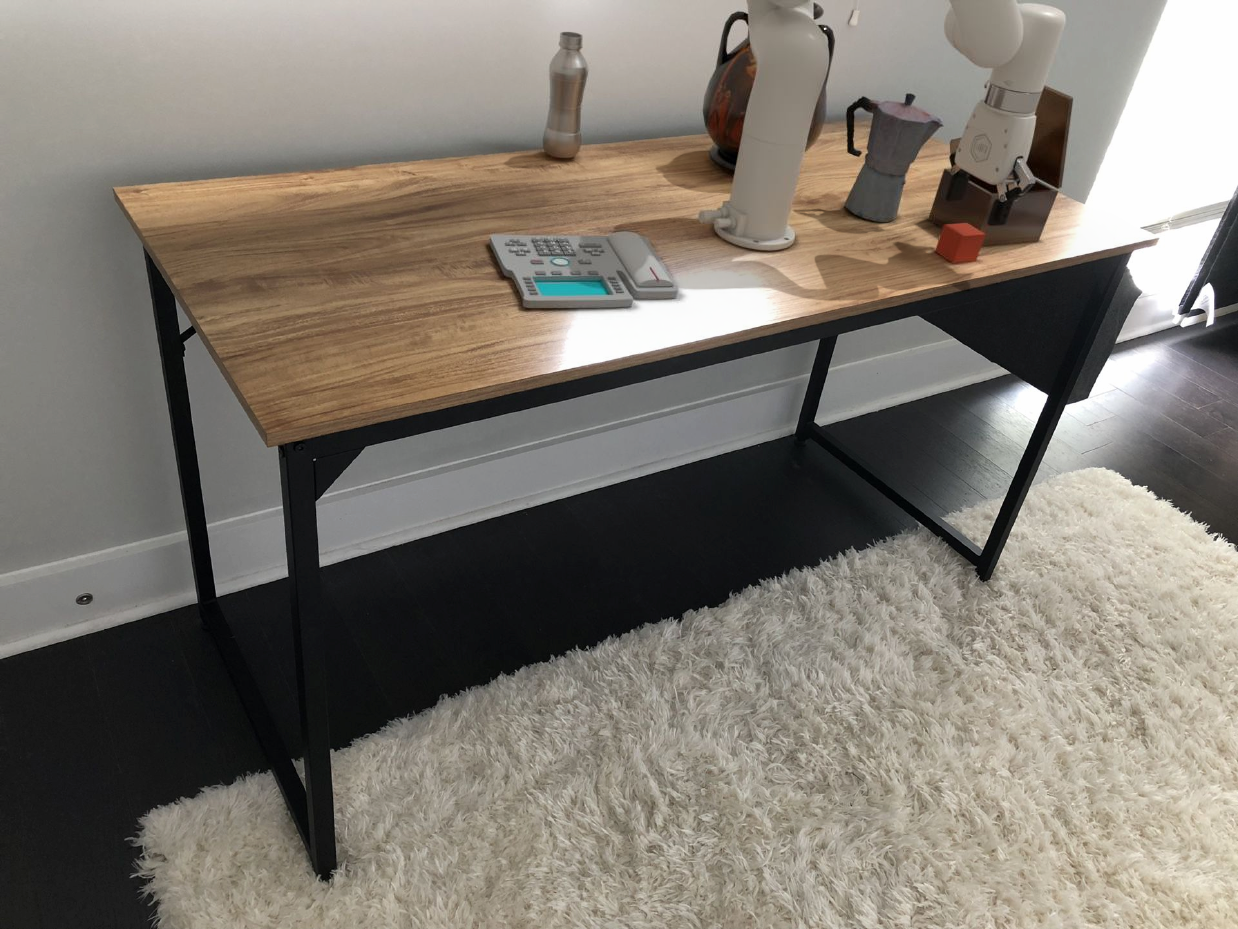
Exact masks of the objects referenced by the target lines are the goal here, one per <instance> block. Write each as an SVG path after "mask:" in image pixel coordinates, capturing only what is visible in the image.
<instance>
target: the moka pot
mask: <svg viewBox="0 0 1238 929" xmlns="http://www.w3.org/2000/svg"><path fill="white" fill-rule="evenodd" d="M915 99H916V95H915V94H913V93H906V94H905V99H904V102H902V101H893V100H885V101H880V100H876V99H870V98H868V97H866V96H864V95H863V96H861V97H860V98H858V99H857V100H856V101H853V102H852V104H850V105H849V106H848V107H847V108H846V112H845V121H846V153H847V154H849V155H851V156H854V157H857V158H860V157H861V155H862V154H863V152H862V151H861V150H858V149H856V148H855V141H854V138H855V137H854V136H855V112H856V111H857V110H858V109H862V110H864V111H865V112H867V113H870V114H872V119H871V124H870V128H869V135H868V139H867V144H866V150H867V153H866V154H865V155H864V163H863V165H862V166H861V167H860V170H859V171H858V172H859V173H858V174H857V177H856V180H855V181H854V182H853V185H852V186H851V189H850V191H849V193H848V196H847V197H846V200H845V202H844V206H845V208H846V209H847V210H848V211H850V212H851V213H852V214H854V215H856V216H858V217H859V218H862V219H865V220H870V221H873V222H878V223H890V222H892V221H894V220H895V219H896V218H897V216H898V213H899V209H900V204H901V199H902V197H903V196H902V195H903V192H904V186H905V185H906V184H907V180H906V178H907V175H906V174H908V171H909V169H910V166H911V165H912V164H913V163H914V162H915V160H916V159H917V157H918V155H919V153H920V151H921V149H922V147H923V146H924V145H925V144H926V143H927V142H928V141H929V140H930V139H931V137H932V136H934V134H935V133H936V132H937V131H938V130H939V129H940V128H942V127H945V125H944V123H943V121H942V120H941V119H940V118H939V117H938V116H935V115H934V114H931V113H930V112H929V111H928V110H926V109H924V108H922V107H918V106H916V105H915V104H914V105H913V103H914V101H915Z"/></svg>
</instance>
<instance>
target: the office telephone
mask: <svg viewBox="0 0 1238 929" xmlns="http://www.w3.org/2000/svg"><path fill="white" fill-rule="evenodd" d="M489 245H490V248H491V251H492V252H493V254H494V256H495V259H496V261H497V263H498V265H499V267H500V270H501V271H502V273H503V275H504V276H505V277H507V278H510V279H512V281H513V282H514V284H515V286H516V288H517V290H518V293H519V295H520V298H521V299H522V307H524V308H527V309H574V308H575V309H583V308H584V309H585V308H587V309H589V308H625V307H626V308H627V307H632V306H633V302H634V298H635V299H638V300H639V299H640V300H641V299H643V300H644V299H645V300H646V299H649V300H651V299H654V300H657V299H660V300H661V299H662V300H663V299H676V298H677V296H678V291H679V287H678V286H677V284H676V282H675V280H674V278H673V277H672V275H671V274H670V272H669V271H668V268H667V267H666V264H664V262H663V261H662V259H661V258H660V256H659V254H658V253H657V252H656V250H655V248H654V246H652V244H651V243H650V241H649V239H648V237H647V236H643V235H639V234H638V233H636V232H632V231H616V232H613V233H610V234H609V235H546V234H545V235H544V234H543V235H542V234H541V235H540V234H539V235H538V234H537V235H535V234H533V235H532V234H529V235H528V234H490V235H489ZM627 288H628V289H627ZM629 291H630V292H629Z"/></svg>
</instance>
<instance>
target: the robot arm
mask: <svg viewBox="0 0 1238 929" xmlns="http://www.w3.org/2000/svg"><path fill="white" fill-rule="evenodd" d="M747 2H748V4H747V14H748V22H749V38H750V46H751V50H752V53H753V56H754V58H755V60H756V62H757V71H756V76H755V80H754V84H753V87H752V91H751V94H750V98H749V102H748V106H747V111H746V115H745V120H744V125H743V132H742V137H741V143H740V148H739V153H738V158H737V163H736V168H735V173H734V175H733V179H732V185H731V189H730V194H729V200H723V201H722V205H721V206H720V207H718V208H717V209H715V210H714V209H713V210H712V209H704V210H700V211H699V213H698V222H699V223H700V224H713V229H714V232H715V233H716V234H717V235H718V236H719V237H721V239H723V240H725V241H727V242H728V243H731V244H733V245H736V246H738V247H742V248H745V249H752V250H757V251H779V250H784V249H787V248H789V247H791V246H792V245H793V244H794V242H795V238H796V232H795V230H794V229H793V227H792V226H791V225H789V221H790V220H789V219H790V216H791V212H792V208H793V203H794V199H795V194H796V190H797V185H798V180H799V177H800V174H801V169H802V168H801V167H802V164H803V160H804V155H805V153H806V152H805V148H806V143H807V138H808V134H809V129H810V125H811V121H812V117H813V114H814V110H815V107H816V103H817V100H818V97H819V95H820V92H821V89H822V86H823V84H824V81H825V78H826V74H827V70H828V64H829V49H828V40H827V37H826V35H825V34H824V33H823V32H822V30H821V29H820V28H819V26H818V25H819V24H817V23H816V21H815V20H814V16H813V2H814V0H746V3H747ZM948 2H949V3H950V5H951V7H950V8H949V10H948V11H947V13H946V16H945V18H944V22H943V29H944V30H943V32H944V34H945V38H946V39H947V41H948V43H949V44H950V46H952V47H953V49H955V50H956V51H957V52H958V53H959V54H961V55H962V56H964V57H965V58H966V59H968V60H969V61H970V62H971V63H972V64H973V65H975V66H977V67H978V68H981V69H991V71H990V76H989V78H988V80H986V82H984V85H983V87H984V90H985V92H984V95H983V99H979V100H978V101H977V103H976V104H975V106H974V108H973V110H972V112H971V113H970V116H969V118H968V120H967V122H966V125H965V127H964V130H963V132H962V135H961V137H957V138H953V139H950V141H949V154H950V155H949V157H948V158H949V163H950V166H951V167H950V168H951V169H950V173H951V174H952V178H951V181H950V184H949V187H948V191H947V194H946V197H945V200H947V201H957V200H962V199H963V197H964V194H965V191H966V188H967V185H968V182H969V178H970V175H968V174H967V173H970V174H972V175H974V176H975V177H977V178H979V179H981V180H983V181H985V182H987V183H989V184H992V185H997V190H998V195H999V199H996V200H995V201H994V204H993V207H992V210H991V213H990V216H989V219H988V222H987V223H988V225H990V226H997V225H1004V224H1005V223H1006V221H1007V218H1008V215H1009V212H1010V210H1011V207H1012V204H1013V201H1016V200H1018V199H1019V198H1020V197H1022V196H1023V195H1025V194H1026V193H1027V190H1029V189H1030V188H1031V187H1032V186H1033V185H1034V183H1035V181H1036V180H1037V178H1036V177H1034V176H1033V174H1032V172H1031V171H1030V169H1029V168H1028V166H1027V164H1026V162H1027V158H1028V155H1029V151H1030V148H1031V144H1032V139H1033V135H1034V129H1035V123H1036V116H1035V115H1034V114H1035V112H1036V109H1037V106H1038V103H1039V100H1040V97H1041V94H1042V91H1043V88H1044V85H1045V86H1046V82H1047V79H1048V76H1049V73H1050V70H1051V68H1052V65H1053V62H1054V59H1055V57H1056V53H1057V50H1058V47H1059V44H1060V42H1061V39H1062V36H1063V33H1064V30H1065V27H1066V22H1067V18H1066V14H1065V13H1064V11H1063V10H1061V9H1060V8H1057V7H1054V6H1051V5H1048V4H1047V5H1046V4H1043V3H1042V4H1041V3H1033V2H1025V3H1018V2H1017V0H948ZM804 152H805V153H804ZM1019 179H1020V183H1019V184H1018V186H1017V182H1018V181H1019ZM1006 185H1008V188H1009V191H1008V192H1007V189H1006Z"/></svg>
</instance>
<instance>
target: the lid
mask: <svg viewBox="0 0 1238 929" xmlns="http://www.w3.org/2000/svg"><path fill="white" fill-rule="evenodd" d="M1073 104H1074V97H1073V96H1071V95H1068V94H1066V93H1064V92H1062V91H1060V90H1057V89H1056V88H1055V89H1054V88H1052V87H1050V86H1048V85H1046V84H1045V85H1044V88H1043V91H1042V94H1041V97H1040V100H1039V103H1038V106H1037V109H1036V112H1035V114H1034V115H1035V116H1036V123H1035V129H1034V135H1033V139H1032V144H1031V148H1030V151H1029V155H1028V158H1027V162H1026V164H1027V166H1028V168H1029V169H1030V171H1031V172H1032V174H1033V176H1034V177H1035V179H1037V180H1039V181H1040V182H1042V183H1044V184H1046V185H1048V186H1050V187H1052V188H1054V189H1056V190H1059V189H1062V187H1063V181H1064V173H1065V165H1066V157H1067V150H1068V142H1069V135H1070V126H1071V120H1072V111H1073Z"/></svg>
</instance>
